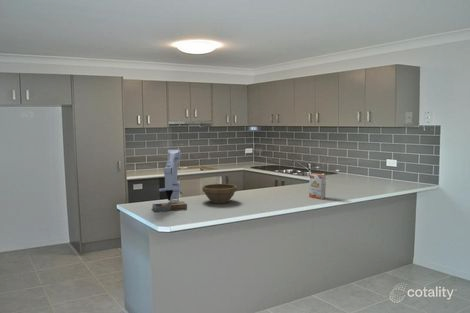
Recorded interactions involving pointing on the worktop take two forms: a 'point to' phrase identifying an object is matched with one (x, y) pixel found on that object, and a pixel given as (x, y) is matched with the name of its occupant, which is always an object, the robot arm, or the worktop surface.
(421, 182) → the worktop surface
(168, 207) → the charcoal tray
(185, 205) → the walnut board
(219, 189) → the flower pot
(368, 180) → the worktop surface
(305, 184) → the worktop surface
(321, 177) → the cracker box
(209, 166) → the worktop surface
